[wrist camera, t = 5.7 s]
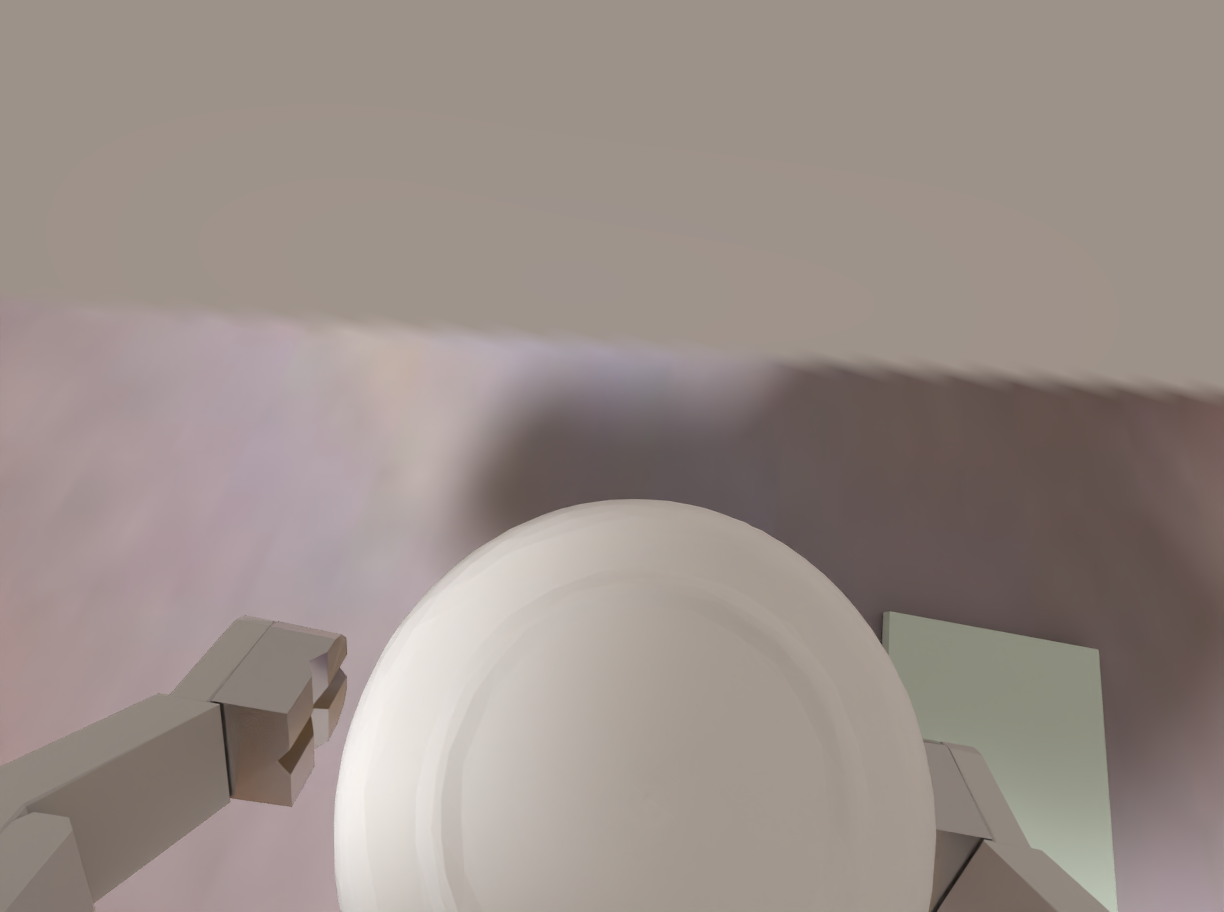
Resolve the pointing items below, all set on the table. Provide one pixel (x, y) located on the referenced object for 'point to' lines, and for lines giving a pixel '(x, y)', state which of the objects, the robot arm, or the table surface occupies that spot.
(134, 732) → the robot arm
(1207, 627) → the table surface
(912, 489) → the table surface
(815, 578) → the sprinkles bottle
